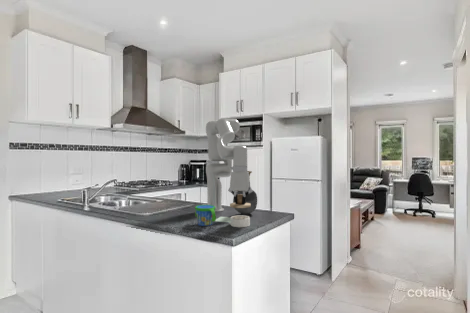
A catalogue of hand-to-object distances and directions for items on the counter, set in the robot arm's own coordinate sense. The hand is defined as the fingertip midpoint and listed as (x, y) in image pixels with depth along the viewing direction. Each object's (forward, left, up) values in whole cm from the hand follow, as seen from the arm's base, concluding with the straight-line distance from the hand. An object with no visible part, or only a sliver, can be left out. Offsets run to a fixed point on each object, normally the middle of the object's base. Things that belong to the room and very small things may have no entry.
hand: (240, 203), depth 155 cm
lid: (0, 0, -1) cm, 1 cm away
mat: (-11, +9, -12) cm, 19 cm away
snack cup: (-18, -5, -12) cm, 22 cm away
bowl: (0, 0, -12) cm, 12 cm away
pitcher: (-5, +23, -12) cm, 27 cm away
